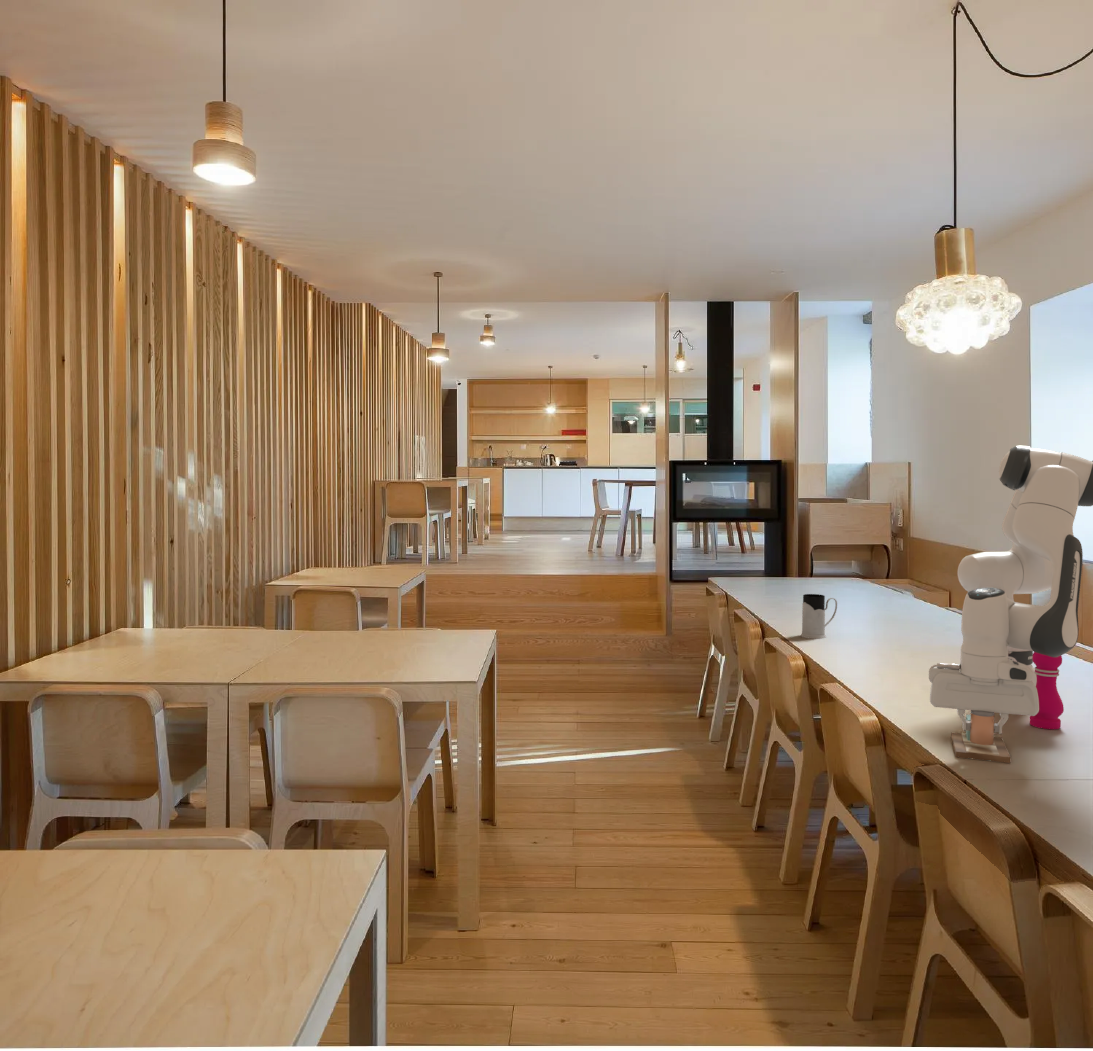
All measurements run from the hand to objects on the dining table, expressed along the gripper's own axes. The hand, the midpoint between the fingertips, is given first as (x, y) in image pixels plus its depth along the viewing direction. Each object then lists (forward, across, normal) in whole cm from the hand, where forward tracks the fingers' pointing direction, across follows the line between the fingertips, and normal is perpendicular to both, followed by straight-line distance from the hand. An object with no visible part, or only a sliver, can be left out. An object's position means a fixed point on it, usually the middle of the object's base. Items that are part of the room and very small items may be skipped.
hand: (981, 731), depth 176 cm
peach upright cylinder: (+2, 0, 0) cm, 2 cm away
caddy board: (+5, 0, +3) cm, 6 cm away
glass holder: (+6, -41, +124) cm, 131 cm away
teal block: (+4, 0, +7) cm, 8 cm away
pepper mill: (+5, +16, +28) cm, 33 cm away
